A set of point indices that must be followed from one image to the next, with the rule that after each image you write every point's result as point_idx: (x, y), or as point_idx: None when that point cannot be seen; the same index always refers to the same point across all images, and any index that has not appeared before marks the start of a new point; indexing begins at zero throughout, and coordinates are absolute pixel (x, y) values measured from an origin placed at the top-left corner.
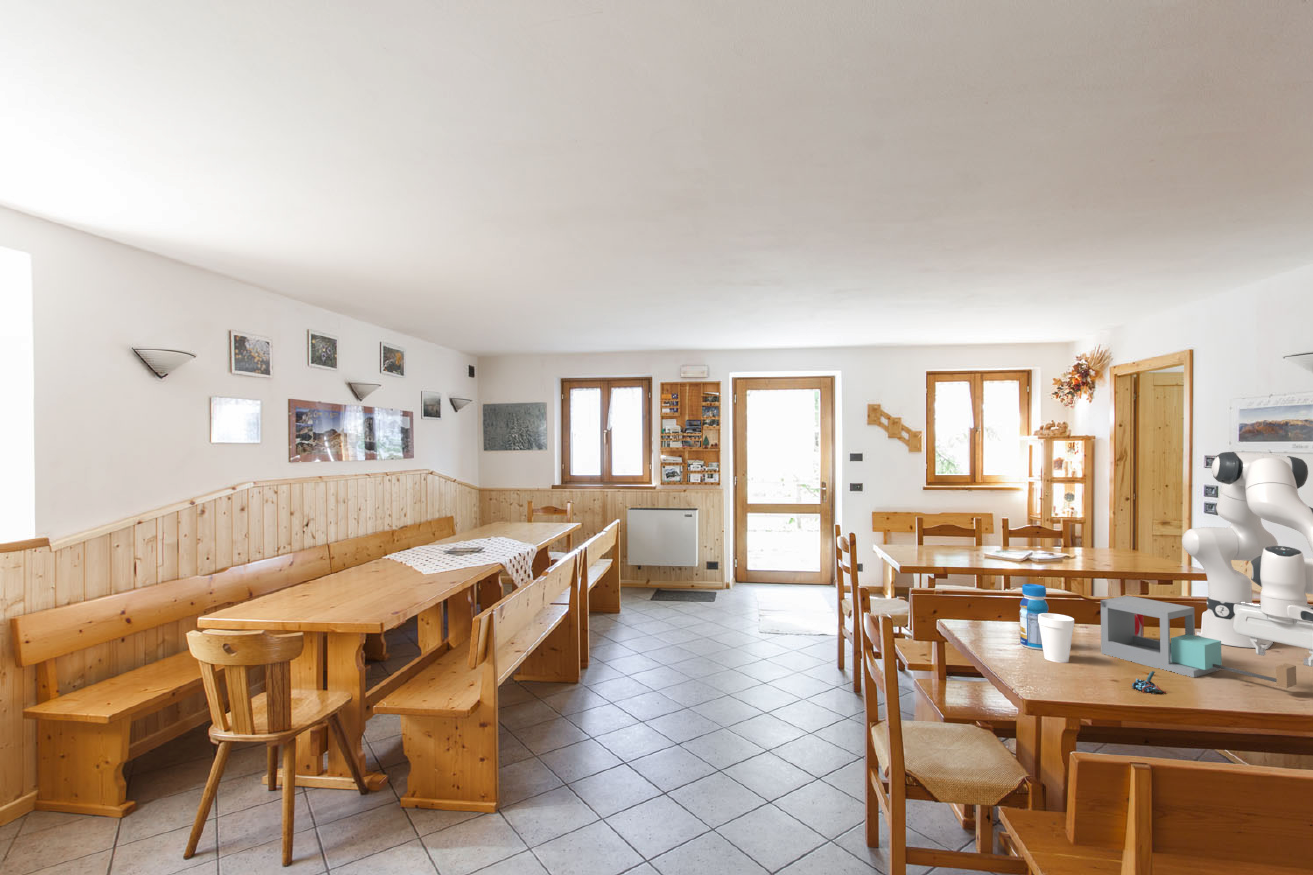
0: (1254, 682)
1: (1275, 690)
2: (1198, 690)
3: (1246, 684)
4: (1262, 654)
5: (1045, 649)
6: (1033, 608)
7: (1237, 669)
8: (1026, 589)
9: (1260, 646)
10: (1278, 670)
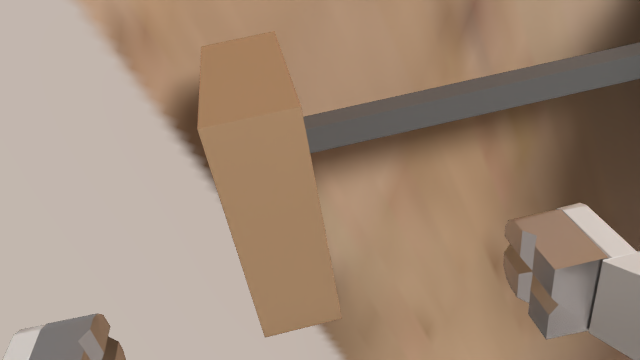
0: (470, 137)
1: (325, 99)
2: None
3: (479, 29)
4: (517, 218)
5: None
6: None
7: (598, 84)
8: None
9: (607, 329)
10: (273, 91)
